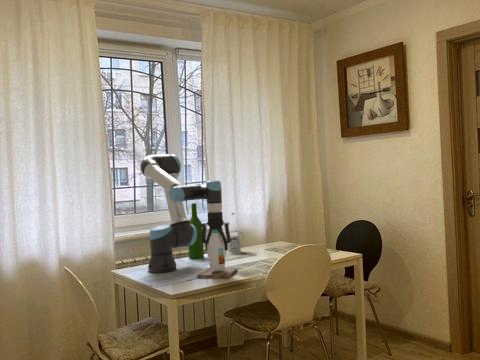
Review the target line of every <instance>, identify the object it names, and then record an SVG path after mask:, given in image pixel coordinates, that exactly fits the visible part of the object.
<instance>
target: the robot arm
mask: <svg viewBox="0 0 480 360" xmlns="http://www.w3.org/2000/svg"><path fill="white" fill-rule="evenodd" d="M139 168H140V172H141V173H142V174H143V176H144V177H146V178H147V179H148V180H149V179H150V180H153V182H155V183H156V184H157V185H158V186H159V187H161V189H163V191H164V195H165V199H166V205H167V208H168V212H169V217H170V221H171V222H170V223H169V225H168V224H165V225H158V226H155V227H153V228H151V229H150V231H149V236H148V237H149V247H150V258H149V262H148V266H147V271H148V273H152V272H153V273H155V274H158V273H159V274H161V273H169V272H173V271H176V270H177V263H176V261H175V257H174V255H173V253H174V252H173V249H178V248H184V247H185V248H186V247H188V246H190V245H193V244H194V243H195V241H196V238H197V230H196V227H195V226H194V225H192V224H190V219H188V218H187V215H186V211H185V206H184V202H186V201H187V202H188V201H197V200H198V201H199V200H206V207H207V208H206V209H207V222H202V228H203V232H202V243H203V244H204V245H205V251H207V258H209V244H210V241H211V238H212V234H211V230H218V231H219V233H220V236H221V239H222V241H223V257H225V258H226V257H227V251H228V243H229V242H231V238H230V237H231V232H229V229H230V228H229V226H230V222H224V219H223V217H224V216H223V199H222V198H223V197H222V195H223V193H222V190H223V189H222V182H221V181H220V180H207V181H206V183H205V184H201V183H200V184H192V185H183V183H180V181H179V180H178V177H179V176H180V173H181V170H182V169H181V168H182V164H181V161H180V159H179V157H178V156H177V155H176V154H170V153H167V154H150V155H147V156H145V157H144V158H143V159H142V160H141V163H140V167H139ZM207 227H209V228H208V233H207ZM223 227H224V230H225V233H224V230H223Z"/></svg>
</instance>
